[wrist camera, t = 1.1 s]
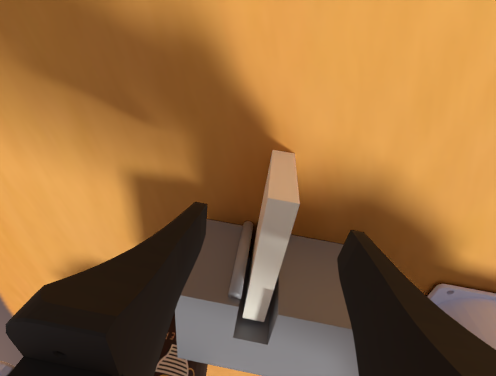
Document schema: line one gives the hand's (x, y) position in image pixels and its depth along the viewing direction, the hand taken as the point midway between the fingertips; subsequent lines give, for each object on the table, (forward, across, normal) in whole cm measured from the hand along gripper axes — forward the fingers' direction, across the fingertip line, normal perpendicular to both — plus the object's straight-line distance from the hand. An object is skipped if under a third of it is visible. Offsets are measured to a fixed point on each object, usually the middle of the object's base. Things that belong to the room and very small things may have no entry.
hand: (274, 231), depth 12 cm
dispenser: (+6, -2, +9) cm, 11 cm away
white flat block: (+6, 0, +3) cm, 7 cm away
